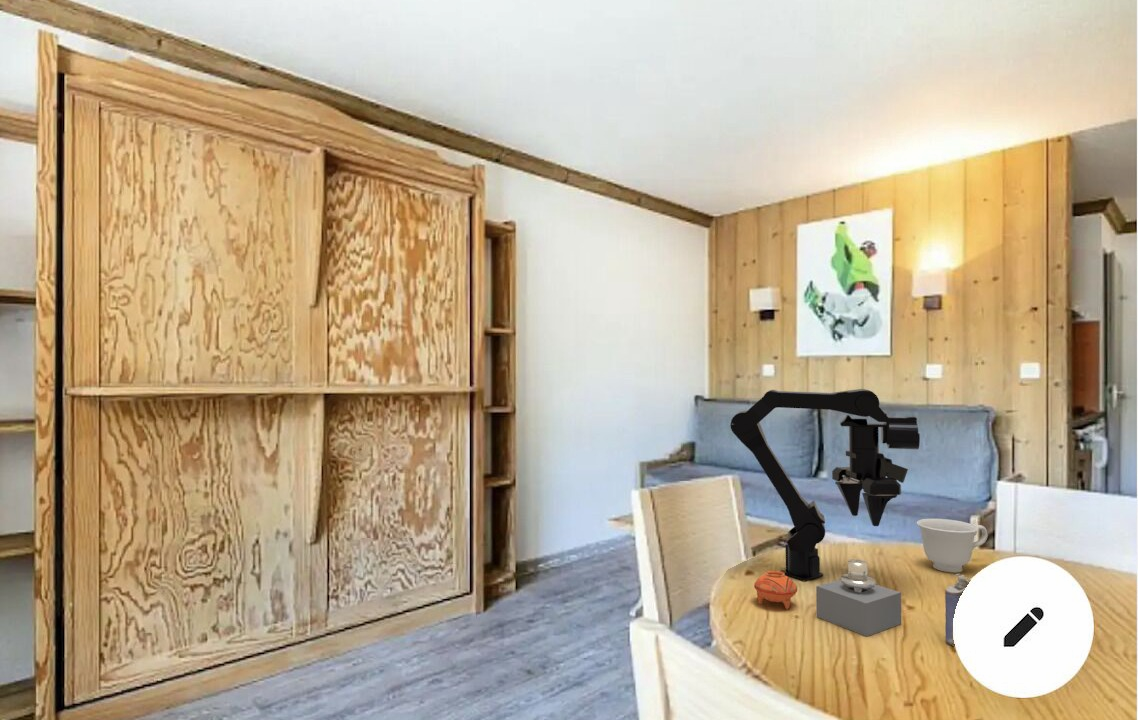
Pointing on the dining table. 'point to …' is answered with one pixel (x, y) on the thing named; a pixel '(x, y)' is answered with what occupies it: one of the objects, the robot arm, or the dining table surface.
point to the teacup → (949, 542)
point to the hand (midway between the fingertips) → (864, 520)
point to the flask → (953, 605)
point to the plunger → (857, 576)
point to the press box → (859, 607)
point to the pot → (775, 587)
